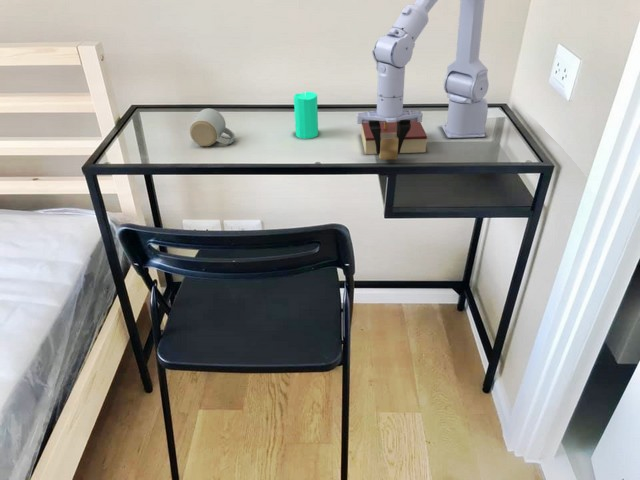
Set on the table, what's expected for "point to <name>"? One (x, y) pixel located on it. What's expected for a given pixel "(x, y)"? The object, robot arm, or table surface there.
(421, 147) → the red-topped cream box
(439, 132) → the table surface
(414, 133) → the cover
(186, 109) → the table surface
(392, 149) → the block
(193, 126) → the ceramic mug
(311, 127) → the candle
